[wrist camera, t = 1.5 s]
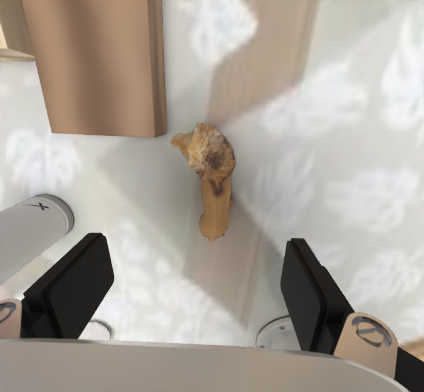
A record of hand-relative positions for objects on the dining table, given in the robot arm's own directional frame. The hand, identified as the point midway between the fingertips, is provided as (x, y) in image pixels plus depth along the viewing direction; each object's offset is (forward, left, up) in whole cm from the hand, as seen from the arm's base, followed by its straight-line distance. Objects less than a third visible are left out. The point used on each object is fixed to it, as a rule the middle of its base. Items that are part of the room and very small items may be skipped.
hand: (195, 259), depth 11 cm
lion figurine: (0, +1, -17) cm, 17 cm away
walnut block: (+10, -13, -17) cm, 23 cm away
